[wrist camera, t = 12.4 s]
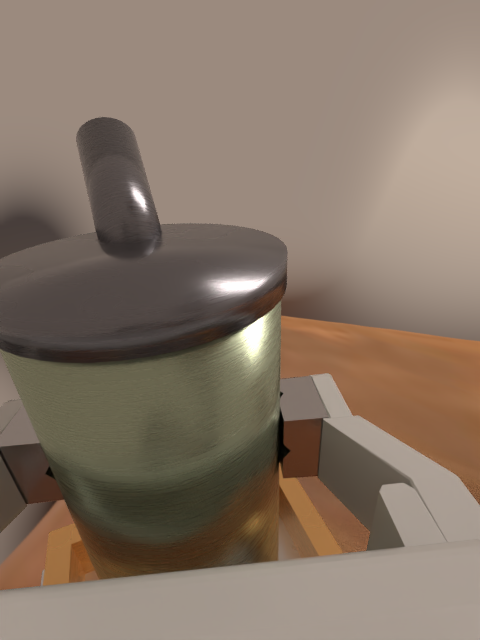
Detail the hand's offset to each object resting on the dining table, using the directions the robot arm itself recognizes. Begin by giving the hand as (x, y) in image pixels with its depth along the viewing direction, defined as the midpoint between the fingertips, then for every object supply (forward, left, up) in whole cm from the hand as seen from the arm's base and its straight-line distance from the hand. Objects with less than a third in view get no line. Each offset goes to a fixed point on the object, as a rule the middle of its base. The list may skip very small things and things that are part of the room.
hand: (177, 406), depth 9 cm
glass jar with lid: (0, +1, -5) cm, 5 cm away
